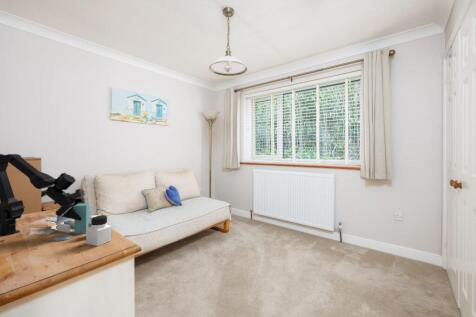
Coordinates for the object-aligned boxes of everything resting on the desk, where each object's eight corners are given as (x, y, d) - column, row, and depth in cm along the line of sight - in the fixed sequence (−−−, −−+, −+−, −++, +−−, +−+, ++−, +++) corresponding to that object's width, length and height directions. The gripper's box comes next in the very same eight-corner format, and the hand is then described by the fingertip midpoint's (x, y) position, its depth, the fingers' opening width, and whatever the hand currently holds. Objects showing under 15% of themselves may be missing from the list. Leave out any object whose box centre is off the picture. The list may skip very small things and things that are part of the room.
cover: (45, 221, 115) (45, 215, 115) (60, 217, 121) (60, 211, 121) (58, 223, 112) (58, 217, 111) (72, 219, 118) (72, 213, 118)
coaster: (49, 239, 100) (49, 238, 100) (65, 234, 107) (65, 233, 107) (60, 242, 98) (60, 241, 98) (76, 236, 105) (76, 235, 105)
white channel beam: (50, 229, 113) (50, 222, 113) (65, 225, 120) (65, 218, 120) (68, 232, 109) (68, 225, 109) (82, 228, 116) (82, 221, 116)
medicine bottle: (111, 240, 101) (112, 215, 101) (97, 246, 95) (97, 219, 94) (100, 238, 104) (100, 213, 103) (85, 244, 97) (86, 217, 97)
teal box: (74, 234, 108) (74, 205, 108) (78, 230, 113) (78, 203, 112) (86, 233, 109) (86, 205, 109) (89, 229, 114) (90, 203, 114)
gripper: (63, 187, 100) (91, 210, 104) (80, 182, 118) (103, 201, 122) (42, 205, 98) (71, 227, 102) (63, 197, 116) (87, 216, 120)
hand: (84, 217), depth 111 cm, fingers open, 9 cm apart
